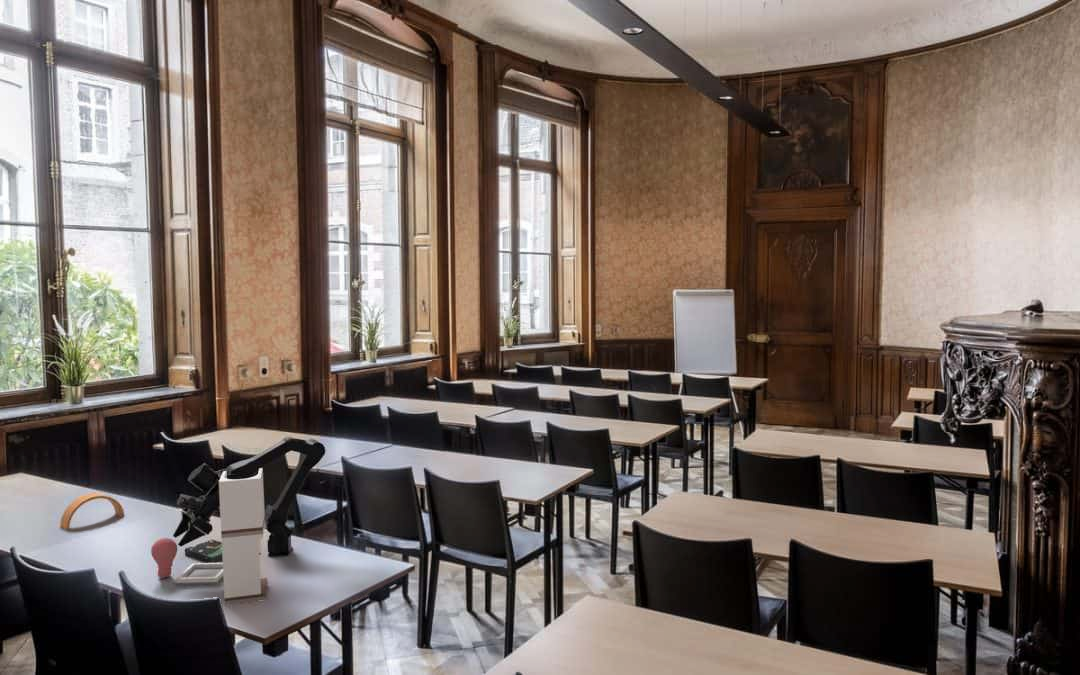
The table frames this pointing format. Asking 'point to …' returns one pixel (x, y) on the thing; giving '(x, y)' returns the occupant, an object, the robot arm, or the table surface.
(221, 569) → the white square frame
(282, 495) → the robot arm
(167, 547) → the light bulb
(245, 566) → the tall white pillar
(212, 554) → the disk drive
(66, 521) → the arch
